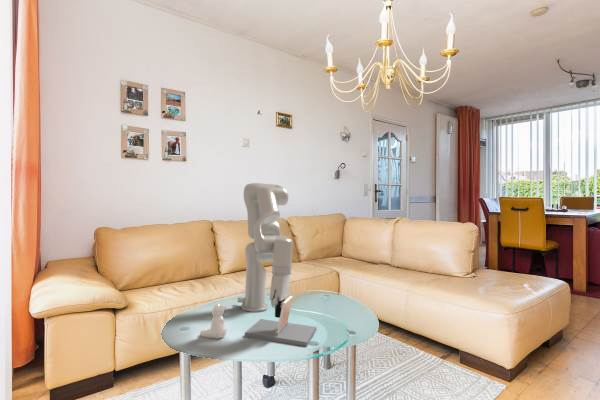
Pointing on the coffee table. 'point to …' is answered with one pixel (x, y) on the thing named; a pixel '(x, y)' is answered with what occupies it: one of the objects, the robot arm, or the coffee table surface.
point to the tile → (284, 313)
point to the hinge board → (281, 332)
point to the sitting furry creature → (216, 324)
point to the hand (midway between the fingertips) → (279, 316)
